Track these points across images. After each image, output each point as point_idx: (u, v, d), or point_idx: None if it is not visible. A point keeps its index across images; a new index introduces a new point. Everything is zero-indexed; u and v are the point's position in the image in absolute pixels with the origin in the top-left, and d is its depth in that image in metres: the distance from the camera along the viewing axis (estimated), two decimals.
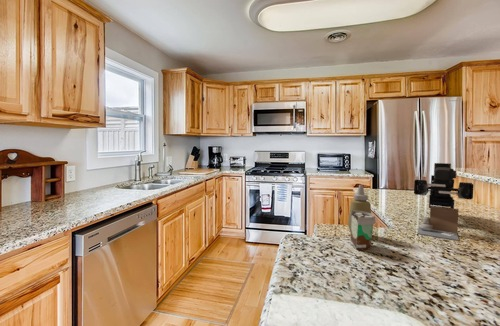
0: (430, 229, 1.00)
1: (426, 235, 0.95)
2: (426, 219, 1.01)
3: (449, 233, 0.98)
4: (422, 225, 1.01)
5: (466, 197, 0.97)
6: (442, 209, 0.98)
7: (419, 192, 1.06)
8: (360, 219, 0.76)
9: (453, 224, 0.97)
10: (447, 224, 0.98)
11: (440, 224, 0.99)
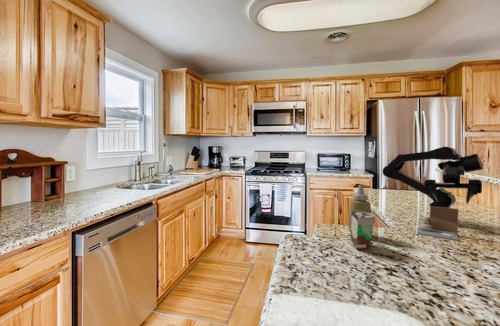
0: (430, 229, 1.00)
1: (426, 235, 0.95)
2: (426, 219, 1.01)
3: (449, 233, 0.98)
4: (422, 225, 1.01)
5: (475, 193, 1.04)
6: (442, 209, 0.99)
7: (430, 192, 1.13)
8: (360, 219, 0.76)
9: (453, 224, 0.97)
10: (447, 224, 0.98)
11: (440, 224, 0.99)
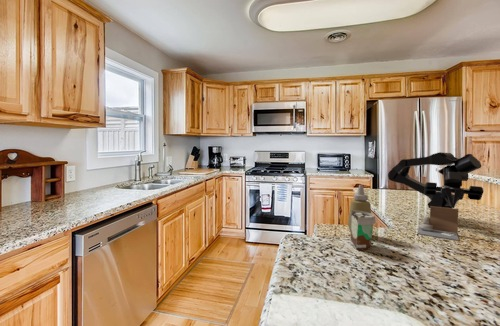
0: (430, 229, 1.00)
1: (426, 235, 0.95)
2: (426, 219, 1.01)
3: (449, 233, 0.98)
4: (422, 225, 1.01)
5: (460, 198, 1.06)
6: (442, 209, 0.99)
7: (442, 196, 1.09)
8: (360, 219, 0.76)
9: (453, 224, 0.97)
10: (447, 224, 0.98)
11: (440, 224, 0.99)
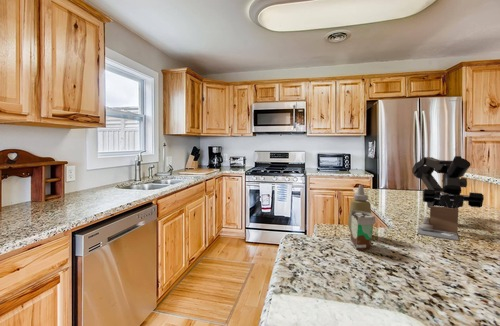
0: (430, 229, 1.00)
1: (426, 235, 0.95)
2: (426, 219, 1.01)
3: (449, 233, 0.98)
4: (422, 225, 1.01)
5: (460, 206, 1.02)
6: (442, 209, 0.99)
7: (441, 203, 1.05)
8: (360, 219, 0.76)
9: (453, 224, 0.97)
10: (447, 224, 0.98)
11: (440, 224, 0.99)
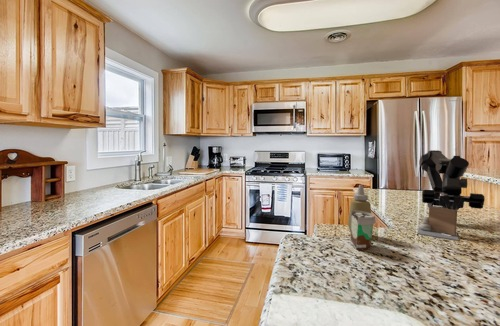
0: (427, 229, 1.00)
1: (426, 235, 0.95)
2: (425, 219, 1.01)
3: None
4: (420, 224, 1.02)
5: (461, 207, 0.99)
6: (440, 209, 0.97)
7: (441, 204, 1.02)
8: (360, 219, 0.76)
9: (450, 225, 0.94)
10: (444, 225, 0.96)
11: (438, 225, 0.98)
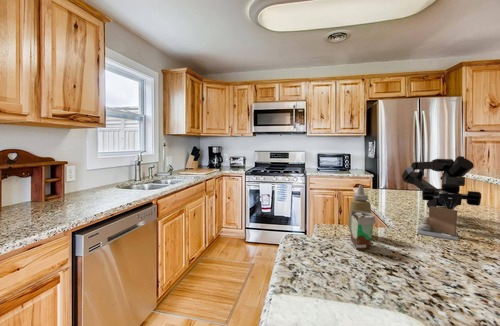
0: (427, 229, 1.00)
1: (426, 235, 0.95)
2: (425, 219, 1.01)
3: None
4: (420, 224, 1.02)
5: (459, 204, 1.04)
6: (440, 209, 0.97)
7: (440, 201, 1.08)
8: (360, 219, 0.76)
9: (450, 225, 0.94)
10: (444, 225, 0.96)
11: (438, 225, 0.98)
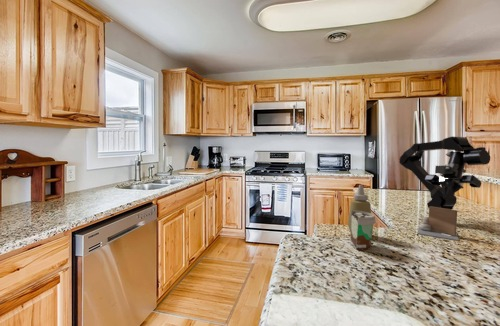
0: (427, 229, 1.00)
1: (426, 235, 0.95)
2: (425, 219, 1.01)
3: None
4: (420, 224, 1.02)
5: (461, 187, 1.06)
6: (440, 209, 0.97)
7: None
8: (360, 219, 0.76)
9: (450, 225, 0.94)
10: (444, 225, 0.96)
11: (438, 225, 0.98)
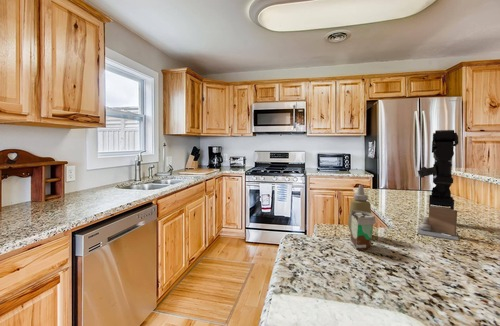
0: (427, 229, 1.00)
1: (426, 235, 0.95)
2: (425, 219, 1.01)
3: None
4: (420, 224, 1.02)
5: (449, 184, 1.02)
6: (440, 209, 0.97)
7: None
8: (360, 219, 0.76)
9: (450, 225, 0.94)
10: (444, 225, 0.96)
11: (438, 225, 0.98)
